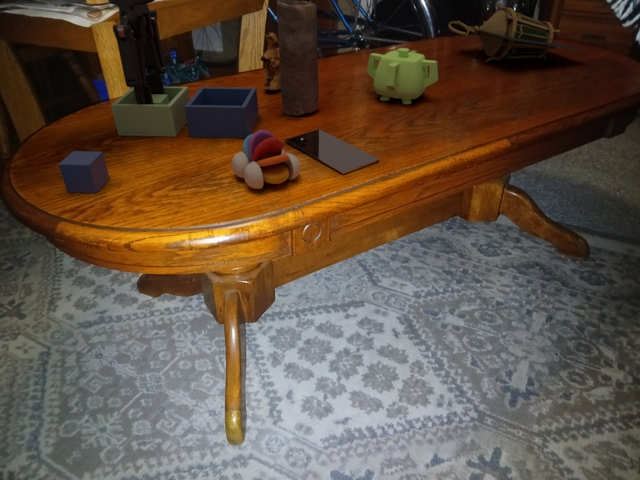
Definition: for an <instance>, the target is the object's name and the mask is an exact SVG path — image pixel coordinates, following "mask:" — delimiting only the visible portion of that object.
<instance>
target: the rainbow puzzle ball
mask: <svg viewBox="0 0 640 480" xmlns="http://www.w3.org/2000/svg"><path fill="white" fill-rule="evenodd" d="M230 165H231V169H232V173H234V174H235V176H237V177H238V178H240V179H244V182H245V184H246V185H247V186H248V187H249V188H252V189H254V190H261V189H263V187H264V183H267V184H273V185H279V184H282V183H284V182H285V181H287V180H289V181H293V180H294V179H296V178H297V177H298V175H299V174H300V172H301V163H300V160H299V159H298V157H297V156H296V155H295V154H292V153H290V152H286V151H285V150H284V143H283V141H282V140H281V139H280V138H278V137H276V136H275V135H274V134H273V133H272V132H270V131H268V130H266V129H259V130H257V131H255V132H254V133H250V135H249V136H248V137H247V138H244V140H243V143H242V151H238V152H237V153H235V154H234V155H233V157H232V159H231V163H230Z"/></svg>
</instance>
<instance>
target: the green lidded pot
mask: <svg viewBox="0 0 640 480" xmlns="http://www.w3.org/2000/svg"><path fill="white" fill-rule="evenodd" d="M377 61H379V62H378V64H377ZM366 67H367V68H366V73H367V75H369V76H370V77H371V78H372V79H373V89H374V92H375V94H377V95H379V96H381V97H380V98H379V100H380V101H384V102H386V101H390V99H391V98H393V99H401V103H402V104H403V105H411V104H412V100H415V99H418V98H419V97H420V96H422V95H423V93H424V92H425V90H426V89H427V87H429V86H431V85H432V84H434V83H436V82H438V81H439V70H438V69H439V68H438V60H433V59H431V60H430V59H426V56H425V55H424V54H422V53H418V51H417V50H410V49H409V48H406V47H400V48H398V49H397V50H392V51H388V52H387V53H385V54H381V53H376V52H372V53H370V54H369V58H368V62H367V66H366ZM428 67H429V68H428Z"/></svg>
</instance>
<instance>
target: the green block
mask: <svg viewBox="0 0 640 480" xmlns="http://www.w3.org/2000/svg"><path fill="white" fill-rule="evenodd" d="M152 99H153V104H156V105H168V104H169V98H168V95H165V94H152ZM136 104H137V102H136Z"/></svg>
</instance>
